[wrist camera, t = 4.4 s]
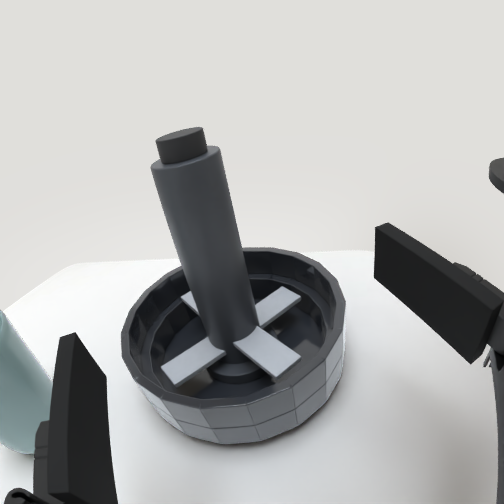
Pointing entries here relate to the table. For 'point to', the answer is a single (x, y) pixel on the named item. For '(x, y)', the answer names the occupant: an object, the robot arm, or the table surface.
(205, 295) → the blade
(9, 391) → the cup
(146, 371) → the processor bowl
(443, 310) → the robot arm
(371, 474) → the table surface
